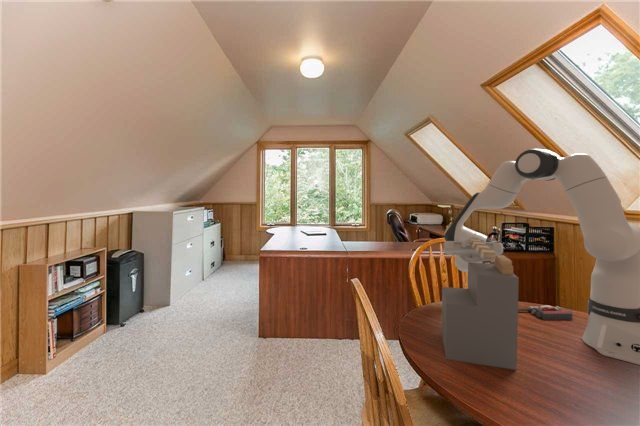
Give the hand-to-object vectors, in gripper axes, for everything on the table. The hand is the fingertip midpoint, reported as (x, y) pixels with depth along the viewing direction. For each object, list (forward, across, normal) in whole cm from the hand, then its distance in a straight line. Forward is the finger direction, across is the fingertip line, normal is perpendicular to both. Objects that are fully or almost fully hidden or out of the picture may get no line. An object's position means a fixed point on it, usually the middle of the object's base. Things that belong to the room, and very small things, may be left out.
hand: (475, 241), depth 106 cm
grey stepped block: (+1, -3, +37) cm, 37 cm away
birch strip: (+7, 0, +6) cm, 9 cm away
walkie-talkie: (-31, +27, +19) cm, 46 cm away
